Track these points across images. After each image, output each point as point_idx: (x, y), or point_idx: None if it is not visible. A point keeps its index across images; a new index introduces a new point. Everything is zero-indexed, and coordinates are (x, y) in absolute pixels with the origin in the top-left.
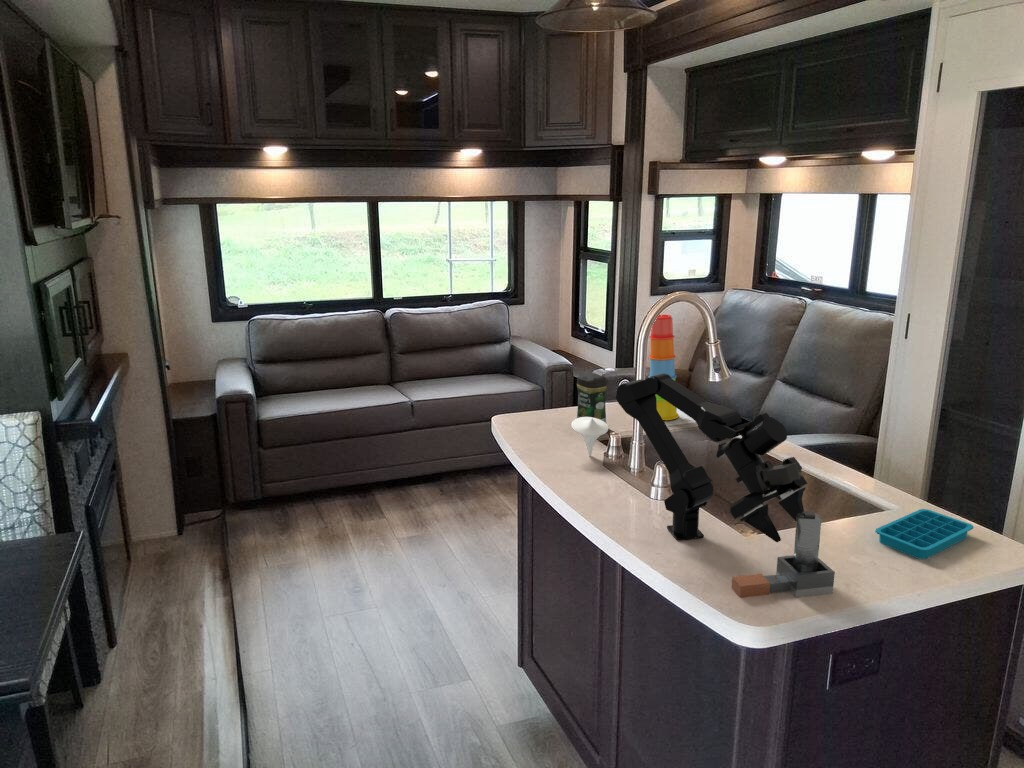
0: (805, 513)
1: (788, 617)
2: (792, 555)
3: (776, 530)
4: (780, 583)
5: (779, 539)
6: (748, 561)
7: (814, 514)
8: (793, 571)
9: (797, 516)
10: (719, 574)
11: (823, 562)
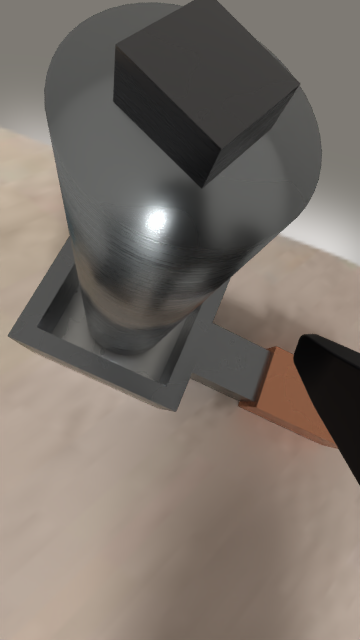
0: (270, 95)
1: (296, 253)
2: (108, 381)
3: (357, 361)
4: (235, 334)
5: (318, 336)
6: (141, 563)
7: (197, 6)
8: (221, 294)
9: (295, 211)
10: (298, 538)
11: (56, 259)
